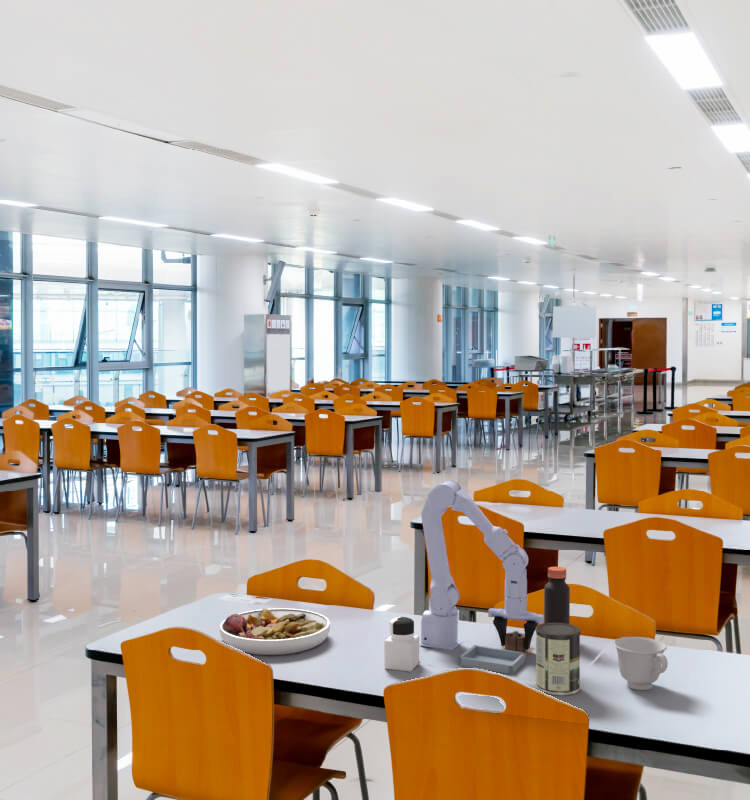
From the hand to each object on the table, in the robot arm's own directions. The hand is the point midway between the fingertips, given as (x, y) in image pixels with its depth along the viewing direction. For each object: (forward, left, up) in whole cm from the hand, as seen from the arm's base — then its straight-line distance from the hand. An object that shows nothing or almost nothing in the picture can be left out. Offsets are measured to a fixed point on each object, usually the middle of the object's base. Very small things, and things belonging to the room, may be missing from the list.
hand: (515, 646), depth 239 cm
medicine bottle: (-22, -23, -2) cm, 32 cm away
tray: (-2, -12, -1) cm, 12 cm away
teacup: (+35, -11, -2) cm, 37 cm away
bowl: (-62, -20, -2) cm, 65 cm away
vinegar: (+7, +14, -2) cm, 16 cm away
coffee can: (+17, -20, -2) cm, 26 cm away
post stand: (0, 0, -1) cm, 1 cm away
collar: (0, 0, -1) cm, 1 cm away
